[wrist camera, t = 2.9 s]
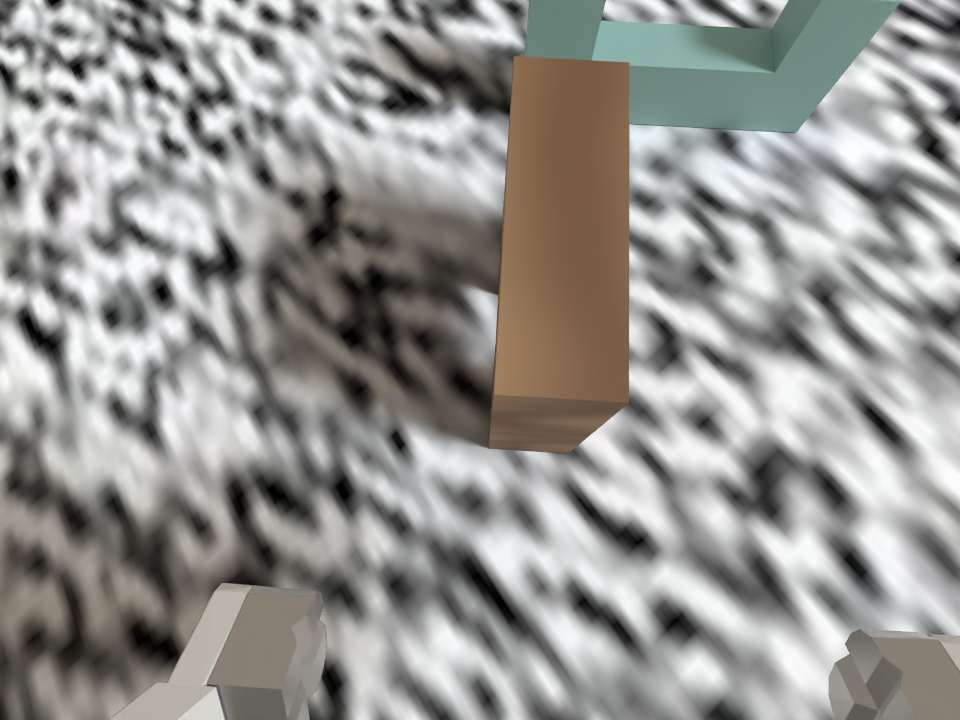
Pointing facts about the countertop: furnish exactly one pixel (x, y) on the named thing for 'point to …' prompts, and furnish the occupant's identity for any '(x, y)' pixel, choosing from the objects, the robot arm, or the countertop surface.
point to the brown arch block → (563, 256)
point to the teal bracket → (716, 60)
